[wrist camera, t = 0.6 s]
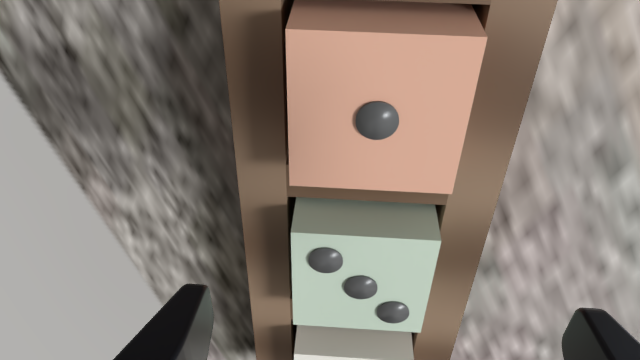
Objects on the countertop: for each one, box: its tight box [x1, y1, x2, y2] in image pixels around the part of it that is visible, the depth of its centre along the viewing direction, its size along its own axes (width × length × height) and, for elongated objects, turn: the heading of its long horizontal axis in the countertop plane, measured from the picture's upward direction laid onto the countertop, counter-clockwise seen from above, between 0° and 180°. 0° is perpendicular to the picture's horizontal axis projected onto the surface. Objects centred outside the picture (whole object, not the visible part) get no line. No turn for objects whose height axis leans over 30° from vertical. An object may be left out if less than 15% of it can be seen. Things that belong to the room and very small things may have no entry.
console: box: [219, 0, 558, 360], centre depth 21 cm, size 22×9×3 cm, turn 179°
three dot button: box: [291, 197, 441, 333], centre depth 19 cm, size 5×5×3 cm
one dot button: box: [285, 0, 488, 194], centre depth 15 cm, size 5×5×3 cm
